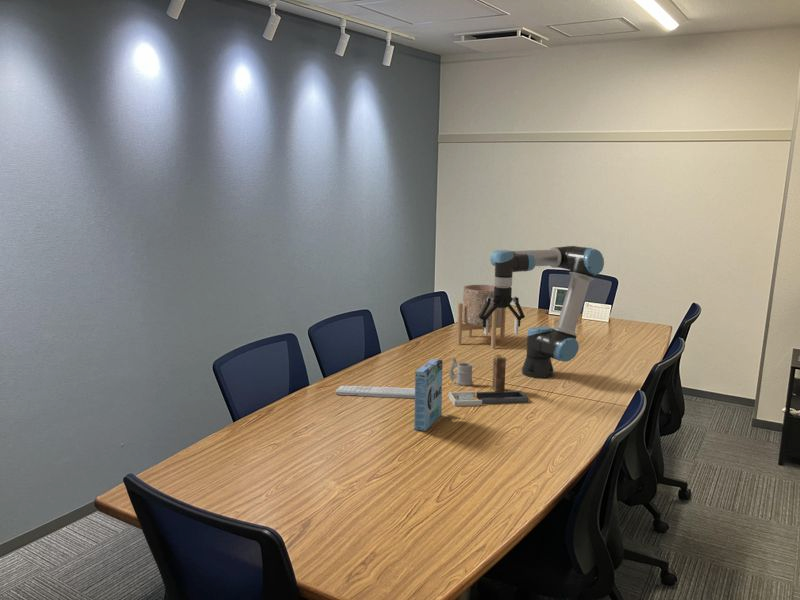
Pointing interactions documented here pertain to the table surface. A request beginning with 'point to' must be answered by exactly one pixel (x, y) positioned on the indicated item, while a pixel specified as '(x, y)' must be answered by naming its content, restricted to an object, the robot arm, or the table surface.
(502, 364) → the tan block
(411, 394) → the keyboard
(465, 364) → the mug
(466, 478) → the table surface
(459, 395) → the grey squarish block
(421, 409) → the gum box
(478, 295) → the planter
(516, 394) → the dark grey open case
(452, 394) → the tray
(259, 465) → the table surface
